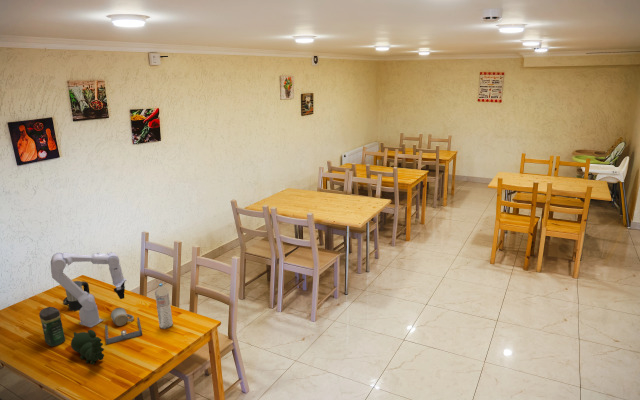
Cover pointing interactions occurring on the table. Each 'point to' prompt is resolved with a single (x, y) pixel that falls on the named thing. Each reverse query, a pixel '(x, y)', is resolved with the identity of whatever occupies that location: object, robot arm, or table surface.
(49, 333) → the coffee jar
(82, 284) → the milk frother
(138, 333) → the coupler cradle
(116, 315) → the ceramic mug
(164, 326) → the water bottle
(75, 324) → the table surface
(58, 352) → the table surface
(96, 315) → the robot arm
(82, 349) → the toy figurine
